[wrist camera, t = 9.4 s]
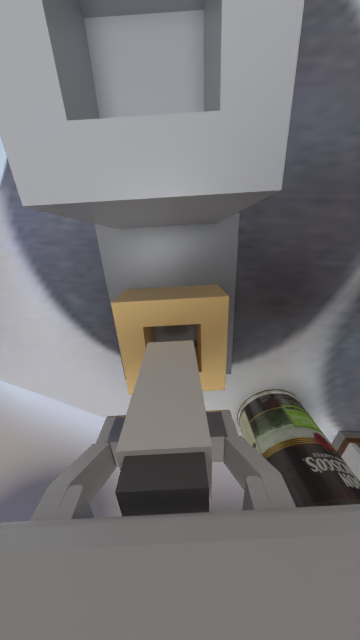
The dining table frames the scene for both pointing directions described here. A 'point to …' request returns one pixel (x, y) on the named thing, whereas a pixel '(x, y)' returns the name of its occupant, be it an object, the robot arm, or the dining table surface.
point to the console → (153, 147)
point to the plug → (165, 436)
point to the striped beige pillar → (349, 449)
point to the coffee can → (297, 450)
